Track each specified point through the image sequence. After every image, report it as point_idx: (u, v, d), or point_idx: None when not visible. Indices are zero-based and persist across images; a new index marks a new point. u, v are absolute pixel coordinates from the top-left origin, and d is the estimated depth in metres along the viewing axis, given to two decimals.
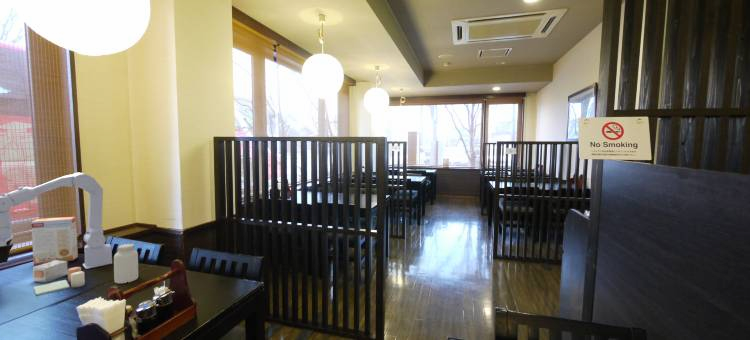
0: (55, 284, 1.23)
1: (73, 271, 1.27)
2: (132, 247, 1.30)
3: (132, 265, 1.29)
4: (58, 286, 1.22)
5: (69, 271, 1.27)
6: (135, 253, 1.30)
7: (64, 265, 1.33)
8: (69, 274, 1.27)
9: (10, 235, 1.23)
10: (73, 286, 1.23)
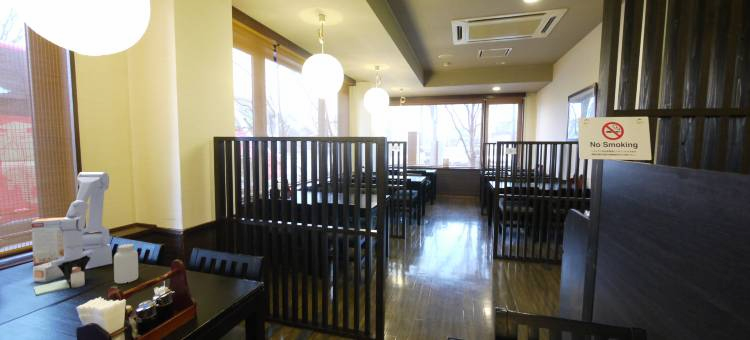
0: (55, 284, 1.23)
1: (73, 271, 1.27)
2: (132, 247, 1.30)
3: (132, 265, 1.29)
4: (58, 286, 1.22)
5: None
6: (135, 253, 1.30)
7: None
8: None
9: (74, 255, 1.26)
10: (73, 286, 1.23)
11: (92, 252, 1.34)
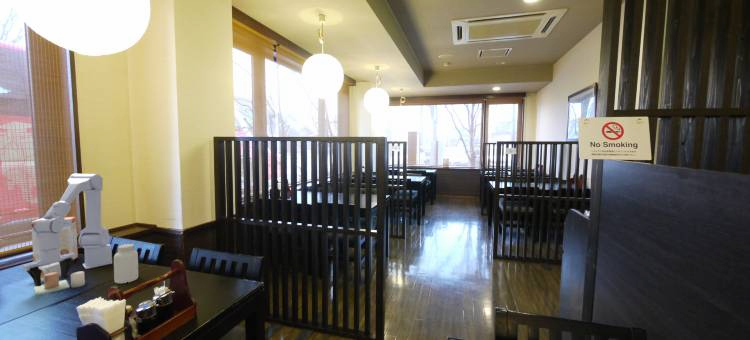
0: None
1: (48, 277, 1.19)
2: (132, 247, 1.30)
3: (132, 265, 1.29)
4: (58, 286, 1.22)
5: (45, 277, 1.19)
6: (135, 253, 1.30)
7: None
8: (45, 280, 1.19)
9: (48, 259, 1.18)
10: (73, 286, 1.23)
11: (72, 256, 1.27)
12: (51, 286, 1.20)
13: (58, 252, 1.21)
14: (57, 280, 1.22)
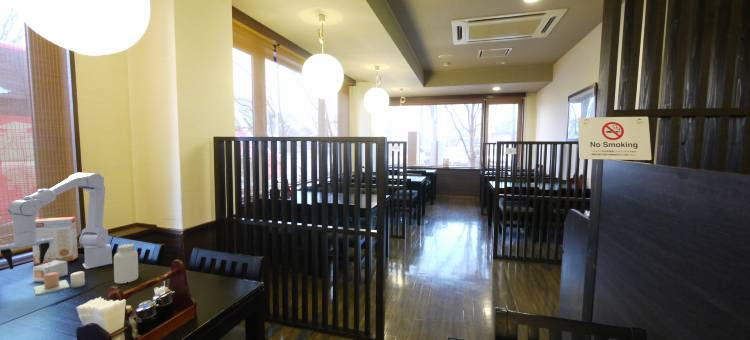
0: None
1: (48, 277, 1.19)
2: (132, 247, 1.30)
3: (132, 265, 1.29)
4: (58, 286, 1.22)
5: (44, 277, 1.19)
6: (135, 253, 1.30)
7: (64, 265, 1.33)
8: (44, 280, 1.19)
9: (20, 242, 1.15)
10: (73, 286, 1.23)
11: (50, 240, 1.23)
12: (51, 286, 1.20)
13: (31, 236, 1.18)
14: (57, 280, 1.22)
